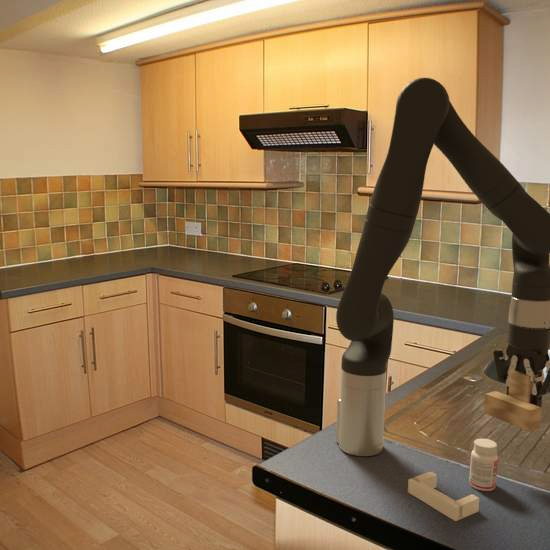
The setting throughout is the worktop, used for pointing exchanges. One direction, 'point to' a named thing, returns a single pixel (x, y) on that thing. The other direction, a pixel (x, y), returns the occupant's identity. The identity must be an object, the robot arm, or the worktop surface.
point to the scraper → (514, 403)
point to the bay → (441, 497)
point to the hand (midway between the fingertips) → (523, 407)
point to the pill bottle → (483, 465)
